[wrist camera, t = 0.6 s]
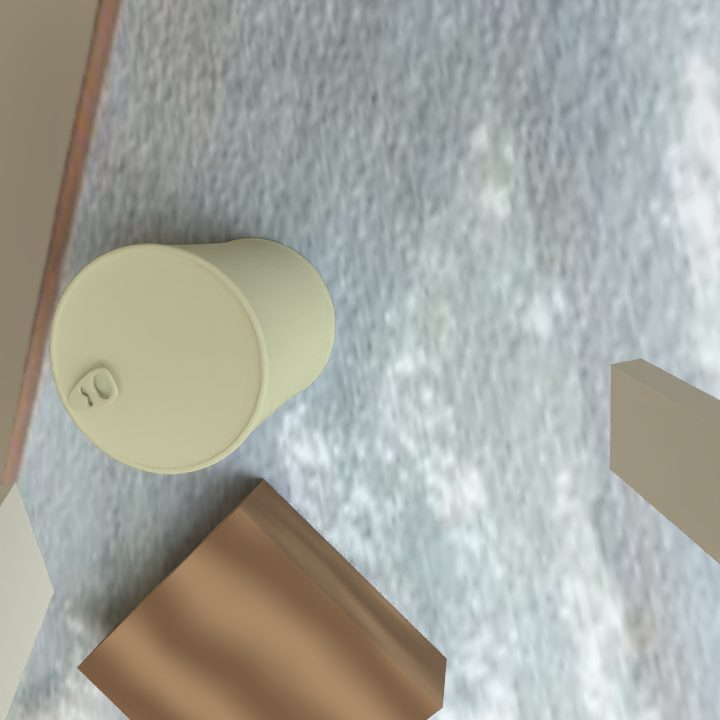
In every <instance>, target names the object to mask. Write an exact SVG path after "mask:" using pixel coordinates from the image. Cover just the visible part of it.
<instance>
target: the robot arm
mask: <svg viewBox="0 0 720 720" xmlns="http://www.w3.org/2000/svg"><path fill="white" fill-rule="evenodd" d="M610 469H611V470H612V471H613V472H614V473H615V474H616V475H618V476H619V477H620V478H621V479H622V480H623V481H625V482H626V483H627V484H628V485H629V486H630V487H631V488H633V489H634V490H635V491H636V492H637V493H638V494H640V495H641V496H642V497H643V498H644V499H645V500H646V501H648V502H649V503H650V504H651V505H652V506H653V507H655V508H656V509H657V510H658V511H659V512H660V513H661V514H663V515H664V516H665V517H666V518H667V519H668V520H670V521H671V522H672V523H673V524H674V525H675V526H677V527H678V528H679V529H680V530H681V531H682V532H683V533H685V534H686V535H687V536H688V537H689V538H690V539H692V540H693V541H694V542H695V543H696V544H697V545H698V546H700V547H701V548H702V549H703V550H704V551H705V552H707V553H708V554H709V555H710V556H711V557H712V558H713V559H715V560H716V561H717V562H718V563H719V564H720V400H718V399H716V398H714V397H712V396H711V395H709V394H707V393H705V392H703V391H701V390H699V389H697V388H696V387H694V386H692V385H690V384H688V383H686V382H684V381H682V380H681V379H679V378H677V377H675V376H673V375H671V374H669V373H667V372H666V371H664V370H662V369H660V368H658V367H656V366H654V365H652V364H651V363H649V362H647V361H645V360H643V359H637V360H632V361H627V362H622V363H617V364H611V430H610ZM53 594H54V589H53V587H52V584H51V581H50V578H49V575H48V572H47V570H46V567H45V564H44V561H43V558H42V555H41V553H40V550H39V547H38V544H37V541H36V538H35V536H34V533H33V530H32V527H31V524H30V521H29V519H28V516H27V513H26V510H25V507H24V504H23V502H22V499H21V496H20V493H19V490H18V487H17V485H16V482H13V483H8V484H3V485H0V720H5V719H6V717H7V714H8V711H9V709H10V706H11V703H12V701H13V698H14V696H15V693H16V690H17V688H18V685H19V683H20V680H21V677H22V675H23V672H24V670H25V667H26V664H27V662H28V659H29V656H30V654H31V651H32V649H33V646H34V643H35V641H36V638H37V636H38V633H39V630H40V628H41V625H42V623H43V620H44V617H45V615H46V612H47V610H48V607H49V604H50V602H51V599H52V596H53Z"/></svg>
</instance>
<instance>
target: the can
mask: <svg viewBox="0 0 720 720" xmlns="http://www.w3.org/2000/svg"><path fill="white" fill-rule="evenodd" d="M334 338H335V313H334V307H333V303H332V300H331V296H330V294H329V291H328V289H327V287H326V285H325V283H324V281H323V280H322V278H321V277H320V275H319V274H318V272H317V271H316V270H315V269H314V267H313V266H312V265H311V264H310V263H309V262H308V261H307V260H306V259H305V258H303V257H302V256H301V255H300V254H298V253H297V252H295V251H294V250H292V249H290V248H288V247H287V246H284V245H282V244H280V243H277V242H274V241H270V240H266V239H258V238H243V239H237V240H232V241H229V242H226V243H212V244H192V245H164V244H154V243H144V244H133V245H128V246H124V247H120V248H117V249H114V250H112V251H109V252H107V253H105V254H103V255H101V256H99V257H98V258H96V259H95V260H93V261H92V262H90V263H89V264H88V265H86V266H85V267H84V268H83V269H82V270H81V271H80V272H79V273H78V274H77V275H76V276H75V277H74V279H73V280H72V281H71V282H70V284H69V285H68V287H67V288H66V290H65V291H64V293H63V295H62V297H61V298H60V301H59V303H58V306H57V308H56V311H55V314H54V318H53V321H52V326H51V333H50V350H49V351H50V362H51V369H52V374H53V378H54V382H55V385H56V388H57V391H58V394H59V396H60V399H61V401H62V403H63V405H64V407H65V409H66V411H67V412H68V414H69V415H70V417H71V418H72V420H73V421H74V423H75V424H76V425H77V427H78V428H79V429H80V430H81V432H82V433H83V434H84V435H85V436H86V437H87V438H88V439H89V440H90V441H91V442H92V443H93V444H94V445H95V446H97V447H98V448H99V449H100V450H102V451H103V452H104V453H106V454H107V455H109V456H110V457H112V458H114V459H115V460H117V461H119V462H121V463H123V464H126V465H128V466H130V467H133V468H136V469H139V470H143V471H146V472H152V473H158V474H181V473H188V472H193V471H197V470H200V469H203V468H206V467H208V466H211V465H213V464H215V463H217V462H219V461H220V460H222V459H223V458H225V457H226V456H228V455H229V454H230V453H232V452H233V451H234V450H235V449H236V448H238V447H239V446H240V445H241V444H242V442H243V441H244V440H245V439H246V438H247V436H248V435H249V434H250V433H251V432H252V431H253V430H254V429H255V428H256V427H257V426H258V425H260V424H261V423H262V422H263V421H264V420H265V419H266V418H267V417H268V416H269V415H271V414H272V413H273V412H274V411H275V410H276V409H277V408H278V407H280V406H281V405H282V404H283V403H284V402H285V401H286V400H288V399H289V398H290V397H292V396H294V395H296V394H298V393H299V392H301V391H303V390H304V389H305V388H307V387H308V386H309V385H310V384H311V383H312V382H313V381H314V380H315V379H316V378H317V377H318V376H319V374H320V373H321V371H322V370H323V368H324V367H325V365H326V363H327V361H328V359H329V357H330V354H331V351H332V347H333V344H334Z"/></svg>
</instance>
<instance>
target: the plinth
mask: <svg viewBox="0 0 720 720" xmlns="http://www.w3.org/2000/svg"><path fill="white" fill-rule="evenodd" d="M446 660H447V659H446V658H445V657H444V656H443V655H442V654H441V653H440V652H439V651H438V650H437V649H436V648H435V647H434V646H433V645H432V644H431V643H430V642H429V641H428V640H427V639H426V638H425V637H424V636H423V635H422V634H421V633H420V632H418V631H417V630H416V629H415V628H414V627H413V626H412V625H411V624H410V623H409V622H408V621H407V620H406V619H405V618H404V617H403V616H402V615H401V614H400V613H399V612H398V611H397V610H396V609H395V608H394V607H393V606H392V605H391V604H390V603H389V602H388V601H387V600H386V599H385V598H384V597H383V596H382V595H381V594H380V593H379V592H378V591H377V590H376V589H375V588H374V587H373V586H372V585H371V584H370V583H369V582H368V581H367V580H366V579H365V578H364V577H363V576H362V575H361V574H360V573H359V572H358V571H356V570H355V569H354V568H353V567H352V566H351V565H350V564H349V563H348V562H347V561H346V560H345V559H344V558H343V557H342V556H341V555H340V554H339V553H338V552H337V551H336V550H335V549H334V548H333V547H332V546H331V545H330V544H329V543H328V542H327V541H326V540H325V539H324V538H323V537H322V536H321V535H320V534H319V533H318V532H317V531H316V530H315V529H314V528H313V527H312V526H311V525H310V524H309V523H308V522H307V521H306V520H305V519H304V518H303V517H302V516H301V515H300V514H299V513H298V512H297V511H296V510H295V509H293V508H292V507H291V506H290V505H289V504H288V503H287V502H286V501H285V500H284V499H283V498H282V497H281V496H280V495H279V494H278V493H277V492H276V491H275V490H274V489H273V488H272V487H271V486H270V485H269V484H268V483H267V482H266V481H265V480H264V479H263V480H262V481H261V482H260V483H259V484H258V485H257V486H256V487H255V488H254V489H253V490H252V491H251V492H250V493H249V494H248V495H247V496H246V497H245V498H244V499H243V500H242V501H241V502H240V503H239V504H238V505H237V506H236V507H235V508H234V509H233V510H232V511H231V512H230V513H229V514H228V515H227V516H226V517H225V518H224V519H223V520H222V521H221V522H220V523H219V524H218V525H217V526H216V527H215V528H214V529H213V530H212V531H211V532H210V533H209V534H208V535H207V536H206V537H205V538H204V539H203V540H202V541H201V542H200V543H199V544H198V545H197V546H196V547H195V548H194V549H193V550H192V551H191V552H190V553H189V554H188V555H187V556H186V557H185V558H184V559H183V560H182V561H181V562H180V563H179V564H178V565H177V566H176V567H175V568H174V569H173V570H172V571H171V572H170V573H169V574H168V575H167V576H166V577H165V578H164V579H163V580H162V581H161V582H160V583H159V584H158V585H157V586H156V587H155V588H154V589H153V590H152V591H151V592H150V593H149V594H148V595H147V596H146V597H145V598H144V599H143V600H142V601H141V602H140V603H139V604H138V605H137V606H136V607H135V608H133V609H132V610H131V611H130V612H129V613H128V614H127V615H126V616H125V617H124V618H123V619H122V620H121V621H120V622H119V623H118V624H117V625H116V626H115V627H114V628H113V630H112V631H111V632H110V633H109V634H108V635H107V636H106V637H105V638H104V639H103V640H102V641H101V643H100V644H99V645H98V646H97V647H96V648H95V649H94V650H93V651H92V652H91V653H90V654H89V656H88V657H87V658H86V659H85V660H84V661H83V662H82V663H81V664H80V665H79V666H78V667H77V668H78V669H79V670H80V671H81V672H82V673H83V674H84V675H85V676H86V677H87V678H88V679H89V680H90V681H91V682H92V683H93V684H94V685H95V686H96V687H97V688H98V689H99V690H100V691H102V692H103V693H104V694H105V695H106V696H107V697H108V698H109V699H110V700H111V701H112V702H113V703H114V704H115V705H116V706H117V707H118V708H119V709H120V710H121V711H122V712H123V713H124V714H125V715H126V716H127V717H128V718H129V719H130V720H427V719H428V718H430V717H431V716H432V715H433V714H435V713H436V712H437V711H439V710H440V709H441V708H443V696H444V684H445V672H446Z"/></svg>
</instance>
